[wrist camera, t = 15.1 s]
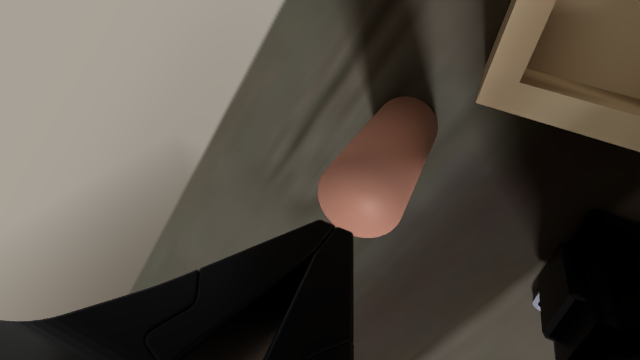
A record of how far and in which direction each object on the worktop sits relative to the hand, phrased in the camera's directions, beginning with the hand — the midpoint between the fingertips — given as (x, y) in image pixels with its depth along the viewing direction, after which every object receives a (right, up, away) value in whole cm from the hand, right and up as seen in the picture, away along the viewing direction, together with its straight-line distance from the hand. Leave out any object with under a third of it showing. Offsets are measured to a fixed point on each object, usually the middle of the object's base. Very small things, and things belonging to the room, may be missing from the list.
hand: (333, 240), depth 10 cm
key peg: (+4, +4, +12) cm, 13 cm away
